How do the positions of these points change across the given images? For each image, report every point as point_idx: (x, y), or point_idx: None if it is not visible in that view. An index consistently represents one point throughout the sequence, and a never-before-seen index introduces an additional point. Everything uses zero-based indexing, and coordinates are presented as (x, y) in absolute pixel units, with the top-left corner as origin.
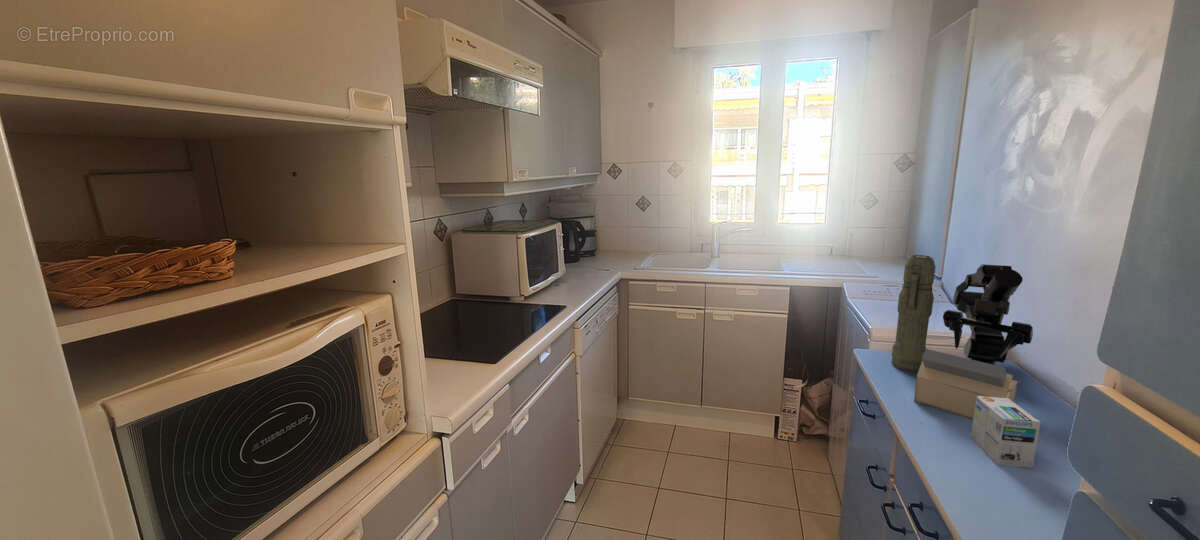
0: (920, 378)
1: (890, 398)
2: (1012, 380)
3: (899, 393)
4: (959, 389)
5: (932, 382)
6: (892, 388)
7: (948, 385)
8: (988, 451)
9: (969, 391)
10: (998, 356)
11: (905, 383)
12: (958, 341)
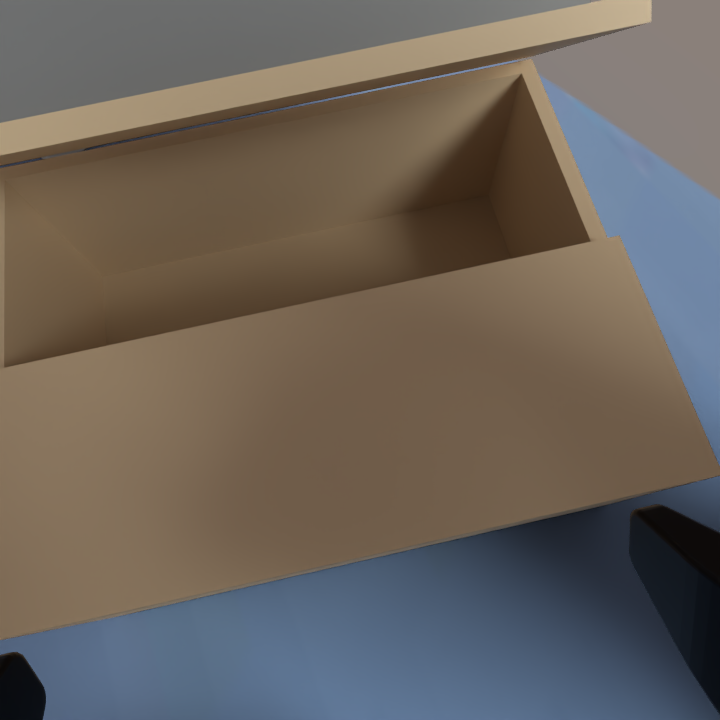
0: (507, 65)
1: (576, 122)
2: (4, 619)
3: (600, 212)
4: (258, 117)
5: (427, 85)
6: (670, 237)
7: (326, 98)
8: None
9: (198, 131)
10: (18, 653)
11: (698, 376)
12: (709, 589)
